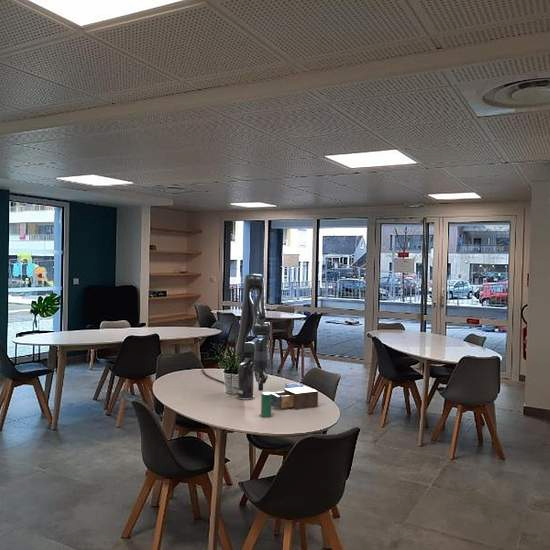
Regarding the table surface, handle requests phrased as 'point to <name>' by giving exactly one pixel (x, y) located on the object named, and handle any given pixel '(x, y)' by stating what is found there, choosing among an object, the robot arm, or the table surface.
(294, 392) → the cabinet
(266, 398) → the can
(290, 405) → the drawer
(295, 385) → the hippopotamus toy
